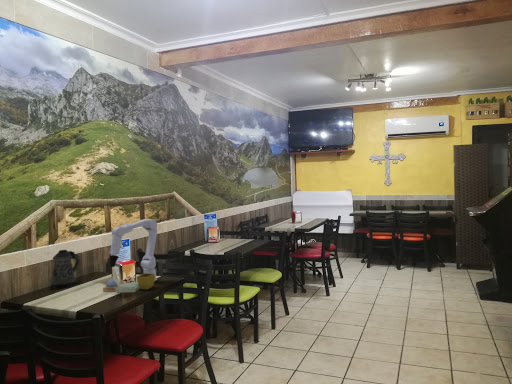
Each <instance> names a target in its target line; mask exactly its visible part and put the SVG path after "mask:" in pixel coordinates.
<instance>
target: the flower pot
mask: <svg viewBox="0 0 512 384" xmlns="http://www.w3.org/2000/svg"><path fill="white" fill-rule="evenodd" d="M154 279H155V274H150V273H144V272H143V273H142V274H138V275H137V276H136V281H137V282H136V283H138V285H139V287H140V290H149V289H152V287H153V286H154V284H155V281H154Z"/></svg>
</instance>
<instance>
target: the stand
mask: <svg viewBox="0 0 512 384" xmlns="http://www.w3.org/2000/svg"><path fill="white" fill-rule="evenodd" d="M120 285H121V284H117V286H116V287H107V286H106V285H105V286H104V287H103V288H102V292H103V293H105V292H106V293H107V292H109V293H113V292H116V289H117V287H119V286H120Z"/></svg>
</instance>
